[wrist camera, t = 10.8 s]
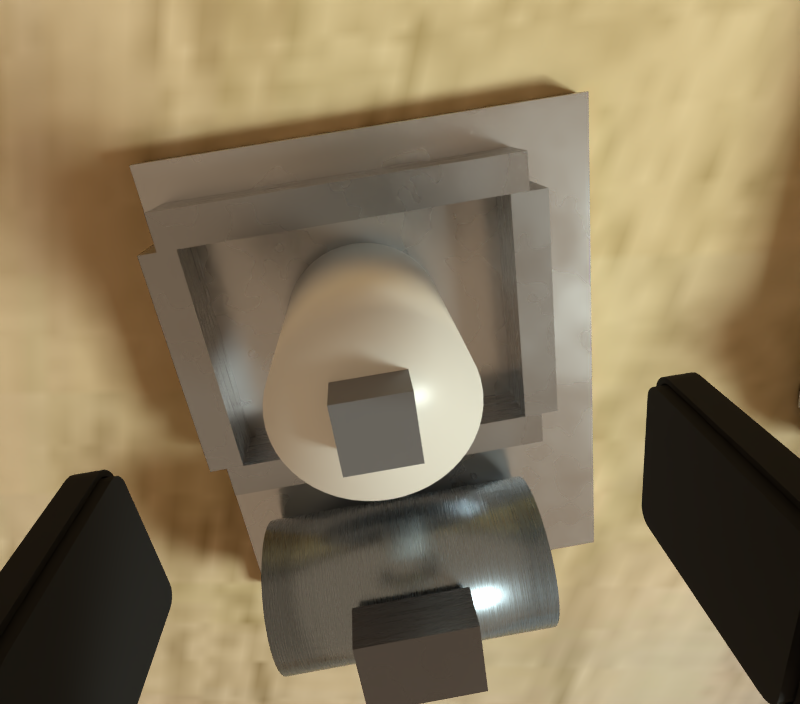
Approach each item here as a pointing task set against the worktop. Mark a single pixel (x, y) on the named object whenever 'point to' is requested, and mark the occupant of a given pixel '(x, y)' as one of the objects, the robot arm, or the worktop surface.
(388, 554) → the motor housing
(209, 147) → the worktop surface
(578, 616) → the worktop surface
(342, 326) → the cylinder
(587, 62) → the worktop surface
